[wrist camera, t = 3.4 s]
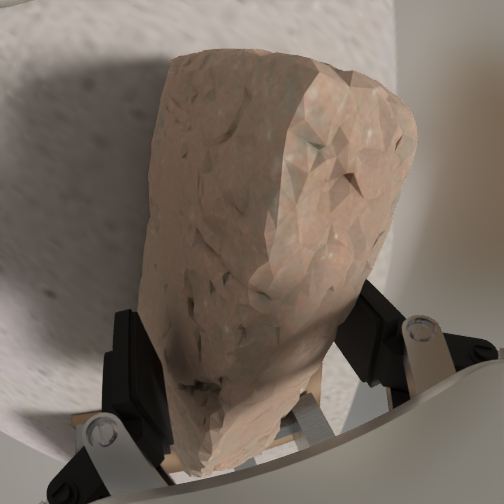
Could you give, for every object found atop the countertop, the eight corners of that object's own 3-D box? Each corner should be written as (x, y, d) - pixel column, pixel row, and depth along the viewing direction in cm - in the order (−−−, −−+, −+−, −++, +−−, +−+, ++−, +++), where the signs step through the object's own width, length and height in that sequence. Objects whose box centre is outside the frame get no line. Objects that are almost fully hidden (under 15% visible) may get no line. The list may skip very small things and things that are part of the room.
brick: (264, 462, 14) (180, 491, 11) (198, 352, 20) (128, 364, 17) (449, 118, 6) (318, 32, 4) (270, 73, 12) (166, 47, 10)
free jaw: (211, 402, 20) (245, 510, 13) (311, 370, 22) (366, 465, 15) (239, 460, 27) (265, 531, 19) (309, 437, 28) (343, 503, 21)
